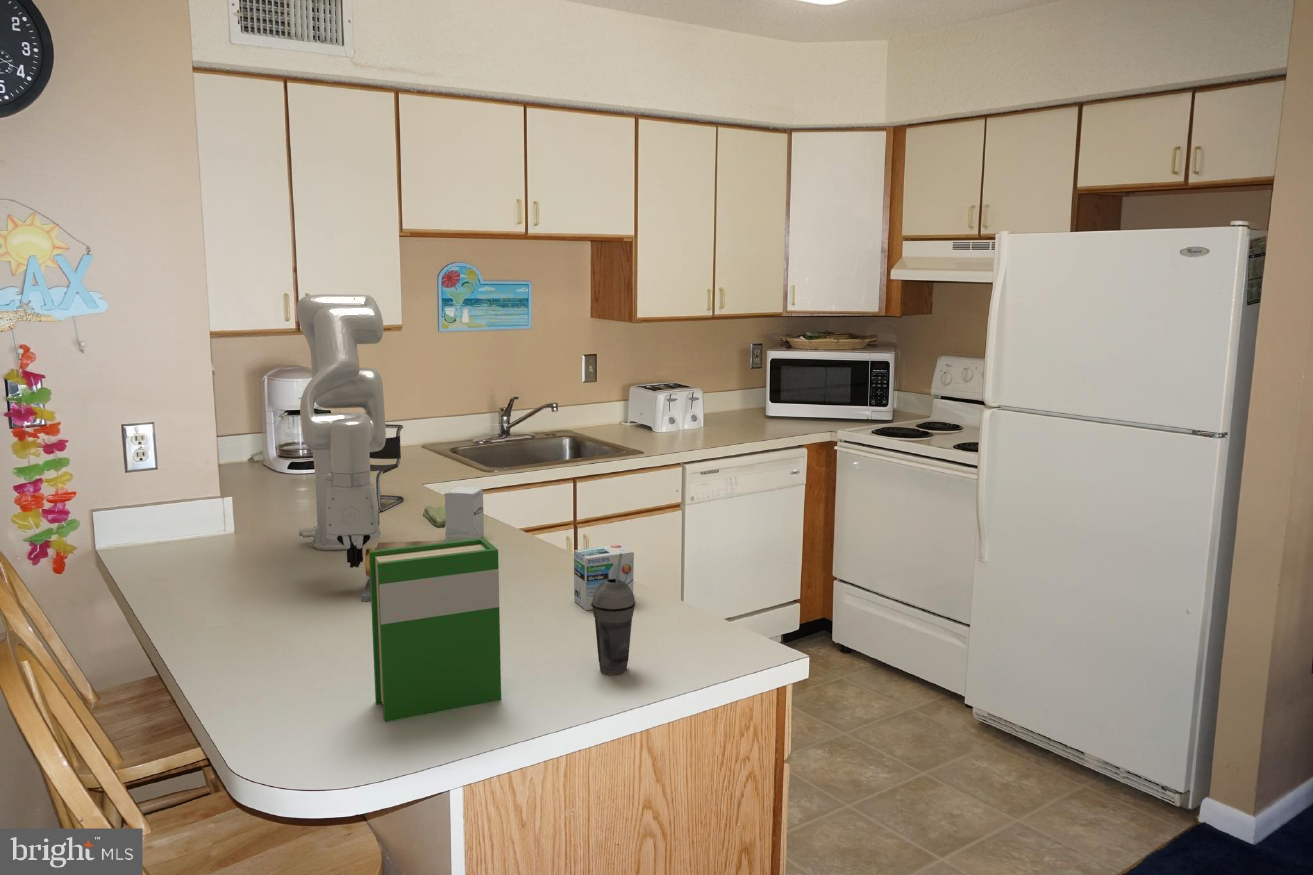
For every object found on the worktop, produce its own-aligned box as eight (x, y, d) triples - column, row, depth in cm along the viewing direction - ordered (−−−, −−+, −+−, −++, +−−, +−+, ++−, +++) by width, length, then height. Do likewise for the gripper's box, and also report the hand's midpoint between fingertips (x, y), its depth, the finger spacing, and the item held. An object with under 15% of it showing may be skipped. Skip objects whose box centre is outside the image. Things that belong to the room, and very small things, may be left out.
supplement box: (473, 544, 236) (472, 493, 234) (445, 542, 237) (443, 492, 235) (485, 536, 243) (483, 487, 241) (457, 534, 245) (455, 485, 242)
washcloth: (468, 510, 272) (467, 499, 271) (483, 525, 256) (483, 513, 255) (420, 515, 266) (420, 503, 266) (433, 530, 250) (433, 518, 250)
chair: (408, 499, 282) (405, 424, 279) (380, 513, 266) (377, 434, 262) (366, 497, 285) (363, 423, 281) (336, 511, 268) (332, 432, 264)
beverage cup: (591, 661, 165) (590, 547, 162) (633, 660, 166) (634, 547, 162) (591, 679, 158) (591, 560, 155) (636, 678, 158) (637, 559, 155)
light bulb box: (586, 611, 190) (585, 558, 188) (572, 601, 196) (572, 549, 194) (635, 603, 195) (635, 551, 193) (620, 593, 201) (620, 543, 199)
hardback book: (384, 722, 142) (378, 564, 138) (375, 702, 149) (368, 551, 145) (501, 699, 150) (498, 549, 146) (487, 681, 157) (484, 537, 153)
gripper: (309, 483, 193) (314, 572, 196) (386, 482, 195) (390, 570, 198) (317, 475, 201) (321, 561, 204) (391, 474, 203) (394, 559, 206)
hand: (355, 565), depth 201 cm, fingers closed
